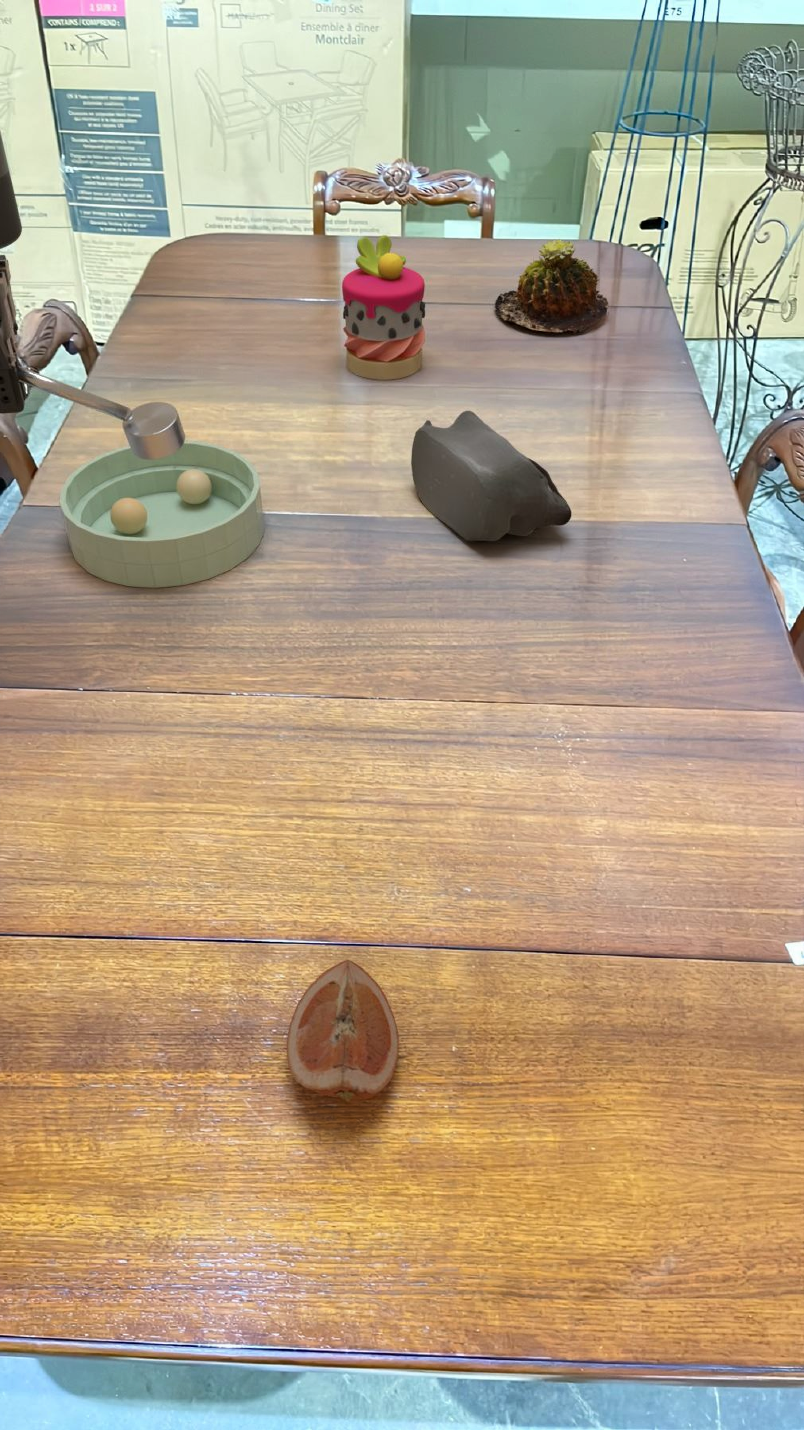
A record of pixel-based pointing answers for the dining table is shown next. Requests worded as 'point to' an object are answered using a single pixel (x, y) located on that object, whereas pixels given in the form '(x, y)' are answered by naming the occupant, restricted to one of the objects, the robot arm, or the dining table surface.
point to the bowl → (163, 516)
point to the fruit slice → (343, 1035)
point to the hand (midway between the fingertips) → (11, 405)
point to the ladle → (123, 416)
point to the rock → (482, 482)
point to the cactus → (555, 293)
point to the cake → (383, 314)
